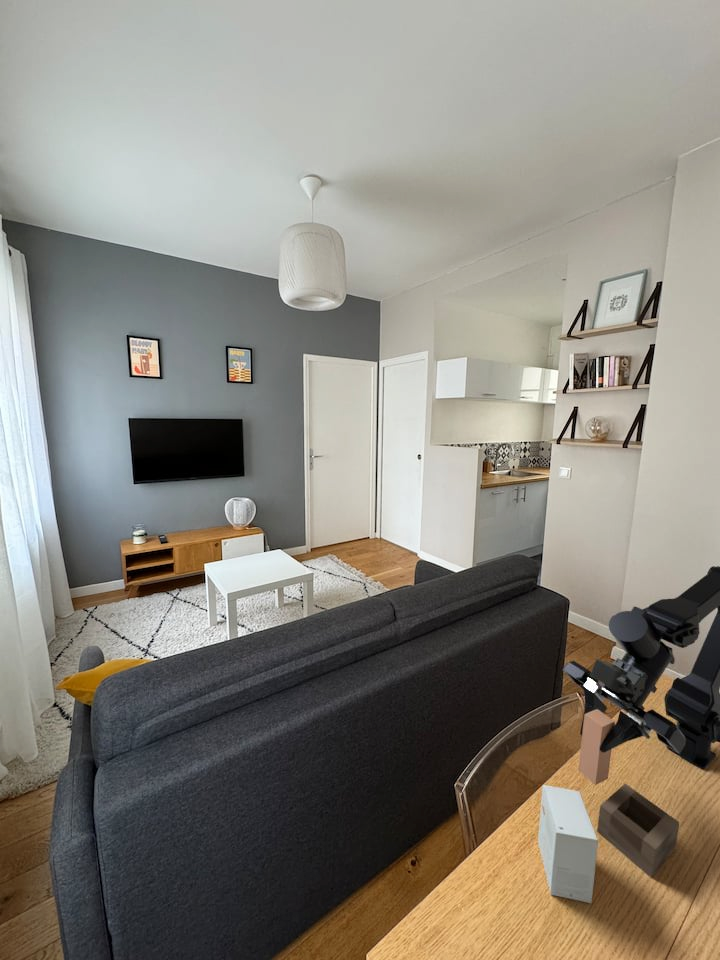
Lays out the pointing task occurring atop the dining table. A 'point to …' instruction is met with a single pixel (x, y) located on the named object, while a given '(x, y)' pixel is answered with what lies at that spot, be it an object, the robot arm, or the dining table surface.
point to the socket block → (638, 829)
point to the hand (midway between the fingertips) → (591, 743)
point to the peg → (595, 746)
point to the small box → (567, 844)
